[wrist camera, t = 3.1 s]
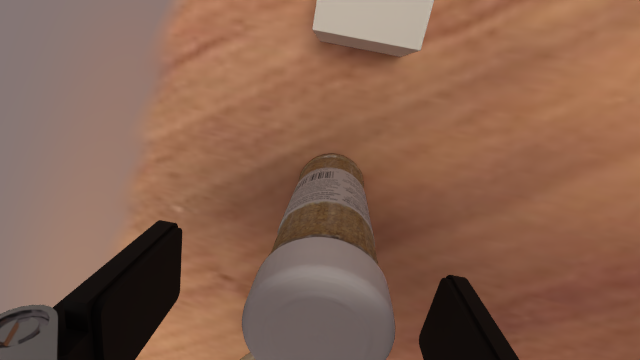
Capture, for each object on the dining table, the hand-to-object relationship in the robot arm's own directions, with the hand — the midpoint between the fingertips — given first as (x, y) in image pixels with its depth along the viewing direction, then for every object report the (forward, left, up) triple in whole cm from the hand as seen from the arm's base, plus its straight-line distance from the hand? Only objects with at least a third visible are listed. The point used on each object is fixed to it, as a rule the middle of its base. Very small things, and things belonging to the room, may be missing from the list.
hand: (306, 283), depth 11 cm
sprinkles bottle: (0, 0, -11) cm, 11 cm away
